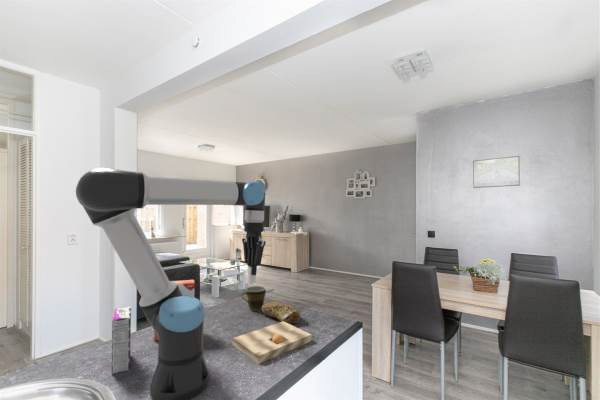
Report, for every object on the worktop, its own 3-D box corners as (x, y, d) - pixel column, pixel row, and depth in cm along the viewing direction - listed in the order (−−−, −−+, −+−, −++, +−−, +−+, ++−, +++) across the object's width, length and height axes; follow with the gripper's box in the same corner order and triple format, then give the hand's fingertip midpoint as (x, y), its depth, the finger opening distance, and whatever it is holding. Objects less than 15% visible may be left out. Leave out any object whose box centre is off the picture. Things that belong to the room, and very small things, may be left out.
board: (258, 363, 92) (258, 356, 92) (232, 345, 105) (232, 338, 105) (311, 341, 109) (311, 334, 109) (283, 327, 121) (283, 321, 121)
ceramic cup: (259, 304, 150) (259, 285, 150) (269, 309, 142) (269, 289, 142) (236, 309, 142) (236, 289, 142) (246, 315, 134) (246, 294, 134)
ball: (272, 333, 104) (268, 341, 105) (278, 343, 101) (274, 350, 103) (280, 330, 107) (277, 337, 108) (286, 339, 104) (283, 346, 106)
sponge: (303, 325, 127) (283, 302, 144) (302, 309, 125) (282, 289, 142) (276, 336, 121) (259, 311, 138) (275, 320, 119) (257, 297, 136)
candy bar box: (113, 358, 95) (114, 308, 96) (130, 354, 98) (131, 306, 98) (110, 375, 85) (111, 319, 86) (129, 370, 88) (131, 316, 88)
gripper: (272, 222, 109) (269, 285, 108) (252, 221, 118) (250, 278, 117) (255, 222, 104) (253, 288, 103) (237, 220, 113) (234, 281, 112)
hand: (251, 283), depth 110 cm, fingers closed
